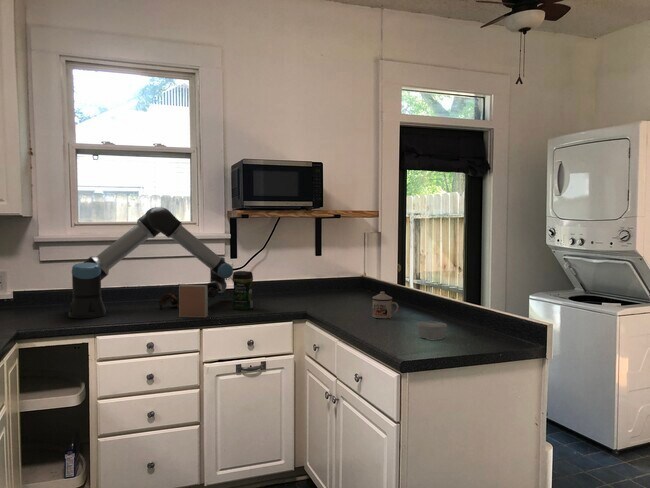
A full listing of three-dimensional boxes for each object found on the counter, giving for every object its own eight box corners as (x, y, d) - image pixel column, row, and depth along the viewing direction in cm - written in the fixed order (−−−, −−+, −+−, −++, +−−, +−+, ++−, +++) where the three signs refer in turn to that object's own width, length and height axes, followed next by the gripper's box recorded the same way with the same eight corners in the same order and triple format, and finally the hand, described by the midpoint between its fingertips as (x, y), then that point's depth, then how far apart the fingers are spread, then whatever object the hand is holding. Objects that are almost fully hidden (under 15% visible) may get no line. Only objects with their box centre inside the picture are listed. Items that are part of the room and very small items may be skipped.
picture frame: (179, 317, 227) (178, 285, 226) (181, 315, 230) (181, 284, 229) (205, 317, 226) (205, 286, 225) (207, 316, 229) (207, 285, 228)
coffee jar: (230, 309, 245) (229, 271, 244) (237, 307, 252) (237, 269, 251) (248, 310, 242) (248, 272, 241) (255, 308, 249) (255, 270, 248)
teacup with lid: (369, 318, 225) (369, 292, 224) (376, 314, 233) (376, 289, 233) (395, 320, 220) (395, 294, 219) (401, 317, 228) (401, 291, 227)
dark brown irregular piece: (178, 310, 245) (169, 296, 243) (162, 318, 247) (152, 304, 245) (185, 300, 256) (177, 286, 254) (170, 307, 258) (161, 294, 256)
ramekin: (442, 334, 195) (442, 320, 195) (450, 341, 184) (450, 327, 184) (413, 334, 195) (413, 320, 195) (420, 341, 184) (420, 327, 184)
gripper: (225, 296, 257) (212, 304, 234) (200, 296, 258) (185, 304, 235) (225, 282, 257) (212, 288, 234) (200, 281, 258) (184, 288, 234)
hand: (198, 296), depth 234 cm, fingers closed
